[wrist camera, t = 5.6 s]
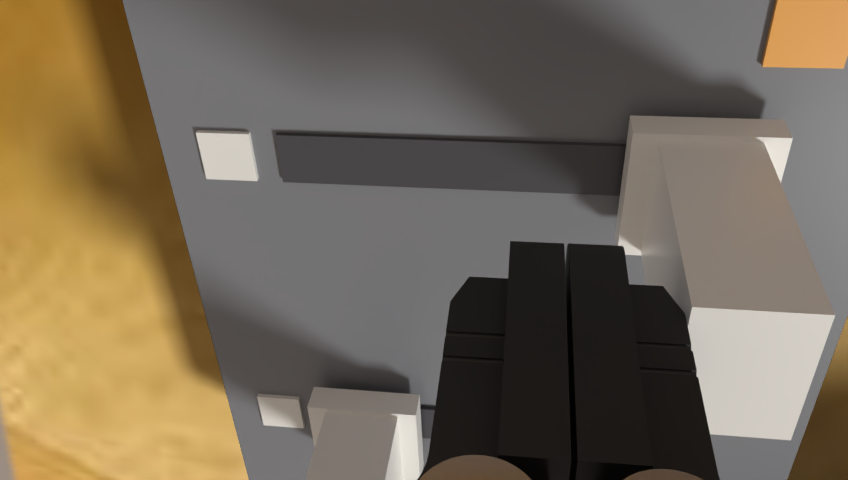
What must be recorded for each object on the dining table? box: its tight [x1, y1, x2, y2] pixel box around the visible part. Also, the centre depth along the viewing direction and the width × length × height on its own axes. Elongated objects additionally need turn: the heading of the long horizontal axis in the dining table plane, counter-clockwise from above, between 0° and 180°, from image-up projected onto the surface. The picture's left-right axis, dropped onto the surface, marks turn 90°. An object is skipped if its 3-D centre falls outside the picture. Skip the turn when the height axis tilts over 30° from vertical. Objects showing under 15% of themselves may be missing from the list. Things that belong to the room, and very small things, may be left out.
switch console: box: [122, 0, 848, 480], centre depth 15 cm, size 13×22×3 cm, turn 2°
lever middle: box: [615, 115, 835, 440], centre depth 12 cm, size 2×2×5 cm
